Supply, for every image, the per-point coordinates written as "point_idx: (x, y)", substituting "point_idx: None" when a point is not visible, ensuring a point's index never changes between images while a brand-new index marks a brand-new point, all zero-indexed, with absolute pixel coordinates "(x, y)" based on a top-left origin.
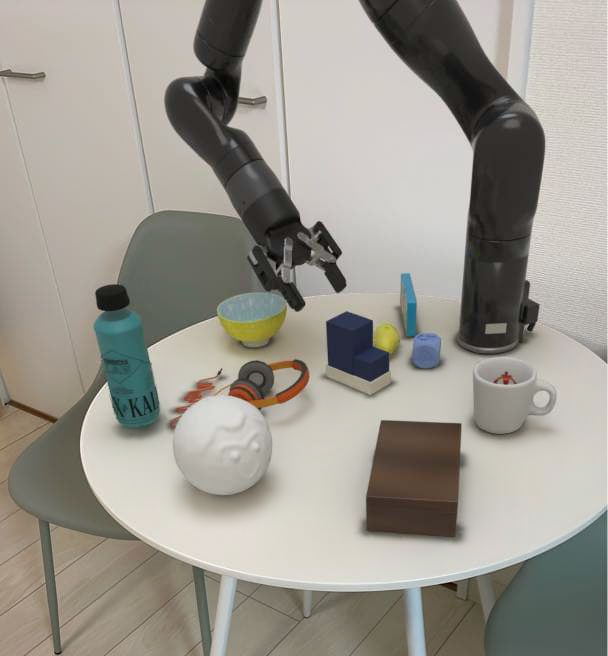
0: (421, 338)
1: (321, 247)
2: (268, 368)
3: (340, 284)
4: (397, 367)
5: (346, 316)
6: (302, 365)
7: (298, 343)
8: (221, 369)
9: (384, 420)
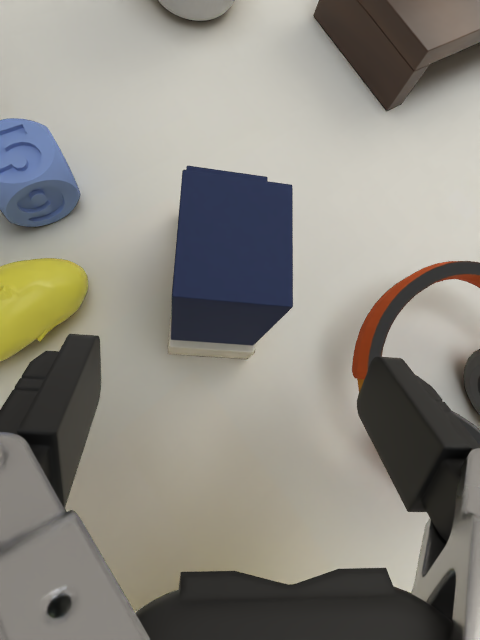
0: (23, 163)
1: (7, 569)
2: None
3: (94, 357)
4: (101, 241)
5: (213, 267)
6: (392, 316)
7: (133, 587)
8: None
9: (425, 44)
